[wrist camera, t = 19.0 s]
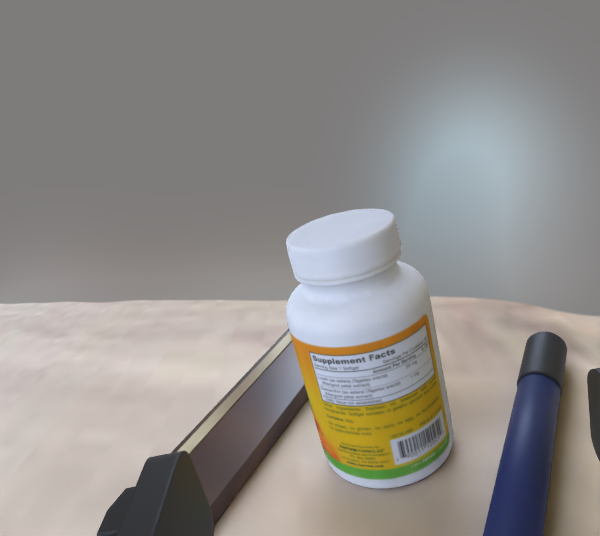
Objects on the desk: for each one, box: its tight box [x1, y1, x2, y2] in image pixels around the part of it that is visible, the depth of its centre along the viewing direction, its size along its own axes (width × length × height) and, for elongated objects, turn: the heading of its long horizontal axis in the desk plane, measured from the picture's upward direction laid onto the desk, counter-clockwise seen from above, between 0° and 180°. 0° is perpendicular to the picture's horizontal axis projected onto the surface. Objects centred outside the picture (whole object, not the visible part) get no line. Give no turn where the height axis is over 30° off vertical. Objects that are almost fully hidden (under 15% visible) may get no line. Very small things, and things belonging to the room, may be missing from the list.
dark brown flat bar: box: [171, 329, 308, 525], centre depth 27 cm, size 17×4×1 cm, turn 152°
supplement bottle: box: [286, 209, 453, 489], centre depth 20 cm, size 5×5×10 cm
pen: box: [483, 332, 567, 536], centre depth 19 cm, size 15×2×2 cm, turn 152°
